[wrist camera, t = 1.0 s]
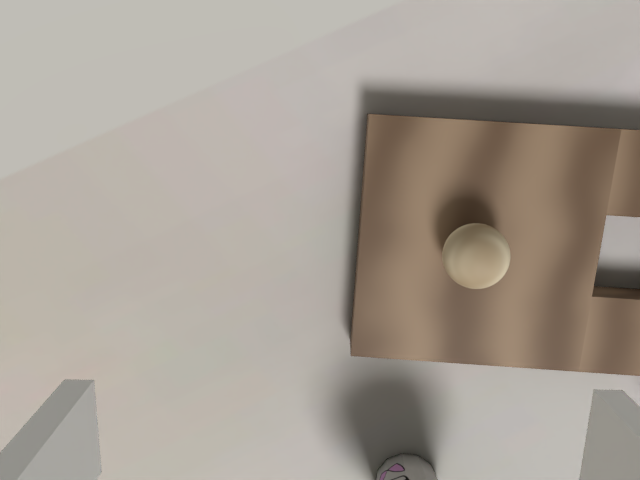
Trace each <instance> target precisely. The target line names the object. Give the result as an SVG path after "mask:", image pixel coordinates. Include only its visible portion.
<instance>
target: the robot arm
mask: <svg viewBox="0 0 640 480" xmlns="http://www.w3.org/2000/svg"><path fill="white" fill-rule="evenodd" d="M101 472H102V471H101V458H100V446H99V434H98V422H97V410H96V397H95V385H94V380H64V381H63V382H62V383H61V384H60V385H59V386H58V388H57V389H56V390H55V391H54V392H53V393H52V394H51V396H50V397H49V398H48V399H47V400H46V401H45V402H44V403H43V405H42V406H41V407H40V408H39V409H38V410H37V411H36V413H35V414H34V415H33V416H32V417H31V418H30V419H29V421H28V422H27V423H26V424H25V425H24V426H23V427H22V428H21V430H20V431H19V432H18V433H17V434H16V435H15V436H14V438H13V439H12V440H11V441H10V442H9V443H8V444H7V446H6V447H5V448H4V449H3V450H2V451H1V452H0V480H97V479H98V477H99V475H100V474H101ZM579 480H640V407H639V406H638V405H637V404H636V403H635V402H634V401H633V400H632V399H631V398H630V397H629V396H628V395H627V394H626V393H625V392H624V391H623V390H594V391H593V397H592V403H591V410H590V416H589V422H588V428H587V434H586V441H585V447H584V453H583V459H582V466H581V472H580V478H579Z"/></svg>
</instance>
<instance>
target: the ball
mask: <svg viewBox="0 0 640 480" xmlns="http://www.w3.org/2000/svg"><path fill="white" fill-rule="evenodd" d="M510 257H511V256H510V249H509V245H508V243H507V241H506V239H505V238H504V236H503V235H502V234H501V233H500V232H499V231H498V230H496V229H495V228H493V227H491V226H489V225H486V224H481V223H472V224H467V225H464V226H461V227H459V228H457V229H456V230H455V231H453V232H452V233H451V234H450V236H449V237H448V238H447V240H446V242H445V244H444V247H443V252H442V260H443V265H444V267H445V270H446V272H447V274H448V275H449V276H450V277H451V278H452V279H453V280H454V281H455V282H456V283H458V284H459V285H461V286H464V287H466V288H470V289H483V288H487V287H490V286H492V285H494V284H496V283H497V282H498V281H499V280H501V279H502V277H503V276H504V275H505V273H506V272H507V270H508V267H509V264H510Z"/></svg>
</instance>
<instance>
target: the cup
mask: <svg viewBox="0 0 640 480" xmlns="http://www.w3.org/2000/svg"><path fill="white" fill-rule="evenodd" d="M376 480H438V479H437V477H436V475H435V473H434V471H433V469H432V467H431V465H430V463H428V462H427V461H425V460H424V459H422V458H421V457H419V456H418V455H411V454H399V455H397V456H394V457H391V458H388V459H387V460H386V461H385V462H384V463H383V464H382V466H381V467H380V468H379V469H378V472H377V479H376Z"/></svg>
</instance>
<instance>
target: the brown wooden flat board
mask: <svg viewBox="0 0 640 480" xmlns="http://www.w3.org/2000/svg"><path fill="white" fill-rule="evenodd" d="M606 215H613V216H629V217H640V130H631V129H614V128H597V127H581V126H564V125H547V124H531V123H514V122H497V121H481V120H464V119H447V118H431V117H414V116H397V115H381V114H367V127H366V140H365V153H364V166H363V180H362V193H361V206H360V219H359V233H358V246H357V259H356V272H355V286H354V299H353V312H352V325H351V339H350V346H351V356H360V357H374V358H389V359H403V360H418V361H432V362H447V363H461V364H476V365H490V366H505V367H519V368H534V369H548V370H563V371H577V372H591V373H606V374H620V375H635V376H640V289H630V288H615V287H600V286H594V282H595V276H596V271H597V265H598V259H599V254H600V248H601V242H602V237H603V231H604V225H605V220H606ZM472 223H481V224H486V225H489V226H491V227H493V228H495V229H496V230H498V231H499V232H500V233H501V234H502V235H503V236H504V238H505V239H506V241H507V243H508V245H509V249H510V256H511V257H510V264H509V267H508V270H507V272H506V273H505V275H504V276H503V277H502V279H501V280H499V281H498V282H497V283H496V284H494V285H492V286H490V287H487V288H483V289H470V288H466V287H464V286H461V285H459V284H458V283H456V282H455V281H454V280H453V279H452V278H451V277H450V276H449V275H448V274H447V272H446V270H445V267H444V265H443V260H442V252H443V247H444V244H445V242H446V240H447V238H448V237H449V236H450V234H451V233H452V232H453V231H455V230H456V229H457V228H459V227H461V226H464V225H467V224H472Z"/></svg>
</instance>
